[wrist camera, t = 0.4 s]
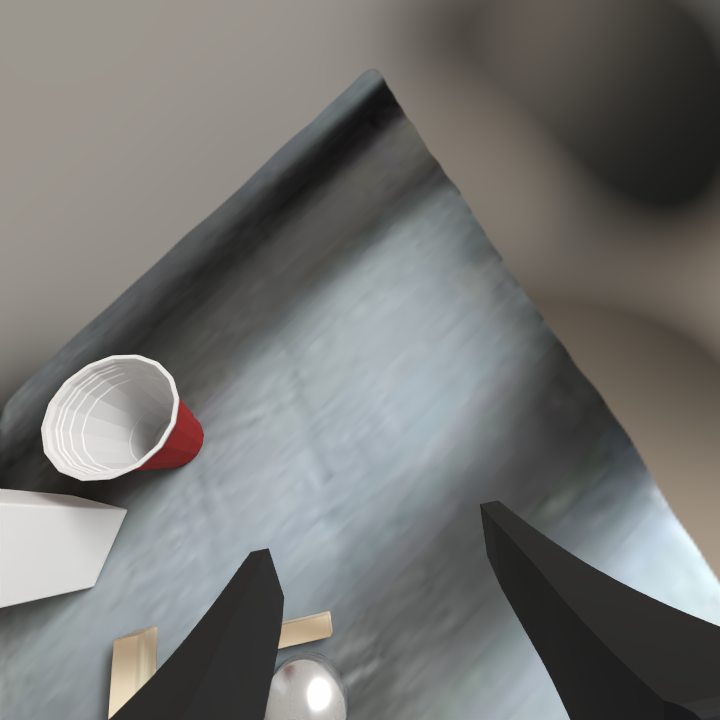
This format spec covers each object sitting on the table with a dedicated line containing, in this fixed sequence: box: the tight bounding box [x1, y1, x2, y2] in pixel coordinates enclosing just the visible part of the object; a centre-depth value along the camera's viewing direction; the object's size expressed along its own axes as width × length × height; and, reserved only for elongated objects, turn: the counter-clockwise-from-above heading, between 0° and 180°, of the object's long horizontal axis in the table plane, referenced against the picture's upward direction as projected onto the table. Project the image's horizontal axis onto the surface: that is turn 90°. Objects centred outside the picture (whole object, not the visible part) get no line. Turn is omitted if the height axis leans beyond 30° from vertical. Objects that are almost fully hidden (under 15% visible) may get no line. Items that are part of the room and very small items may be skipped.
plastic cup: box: [41, 355, 204, 481], centre depth 35 cm, size 11×11×12 cm
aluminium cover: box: [264, 652, 348, 720], centre depth 29 cm, size 7×7×3 cm
